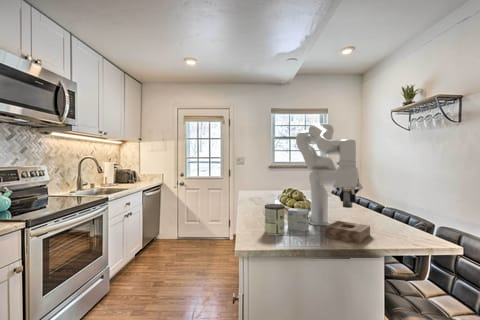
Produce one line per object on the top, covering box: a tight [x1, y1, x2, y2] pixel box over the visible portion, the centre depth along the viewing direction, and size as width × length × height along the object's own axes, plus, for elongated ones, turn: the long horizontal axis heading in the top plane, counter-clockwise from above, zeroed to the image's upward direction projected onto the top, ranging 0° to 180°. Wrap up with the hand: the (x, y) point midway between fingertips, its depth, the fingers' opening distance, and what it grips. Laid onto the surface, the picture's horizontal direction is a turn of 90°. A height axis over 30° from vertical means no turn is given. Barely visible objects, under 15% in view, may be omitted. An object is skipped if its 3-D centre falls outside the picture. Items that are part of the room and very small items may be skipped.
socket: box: [324, 220, 371, 244], centre depth 130 cm, size 16×16×5 cm
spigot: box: [342, 188, 353, 209], centre depth 130 cm, size 4×4×9 cm
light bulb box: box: [287, 207, 310, 232], centre depth 144 cm, size 11×7×11 cm, turn 71°
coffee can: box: [264, 203, 286, 236], centre depth 137 cm, size 10×10×14 cm
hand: (347, 201), depth 130 cm, fingers closed on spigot, 4 cm apart
